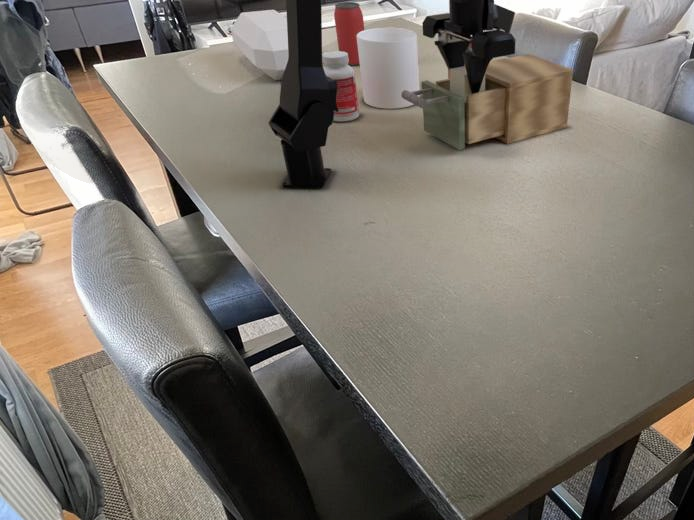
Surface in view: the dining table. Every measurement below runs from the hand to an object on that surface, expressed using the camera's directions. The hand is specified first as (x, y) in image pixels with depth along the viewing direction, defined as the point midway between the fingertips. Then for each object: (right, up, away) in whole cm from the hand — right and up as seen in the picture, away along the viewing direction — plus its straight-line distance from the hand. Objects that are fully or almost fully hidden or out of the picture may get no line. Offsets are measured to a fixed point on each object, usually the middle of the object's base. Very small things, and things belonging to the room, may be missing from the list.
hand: (467, 91), depth 101 cm
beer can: (-28, +27, +41) cm, 57 cm away
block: (0, -1, +1) cm, 1 cm away
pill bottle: (-25, +1, +13) cm, 28 cm away
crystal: (-46, +24, +37) cm, 64 cm away
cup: (-16, +9, +21) cm, 28 cm away
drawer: (-2, -6, +4) cm, 7 cm away
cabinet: (+9, -1, +11) cm, 14 cm away
